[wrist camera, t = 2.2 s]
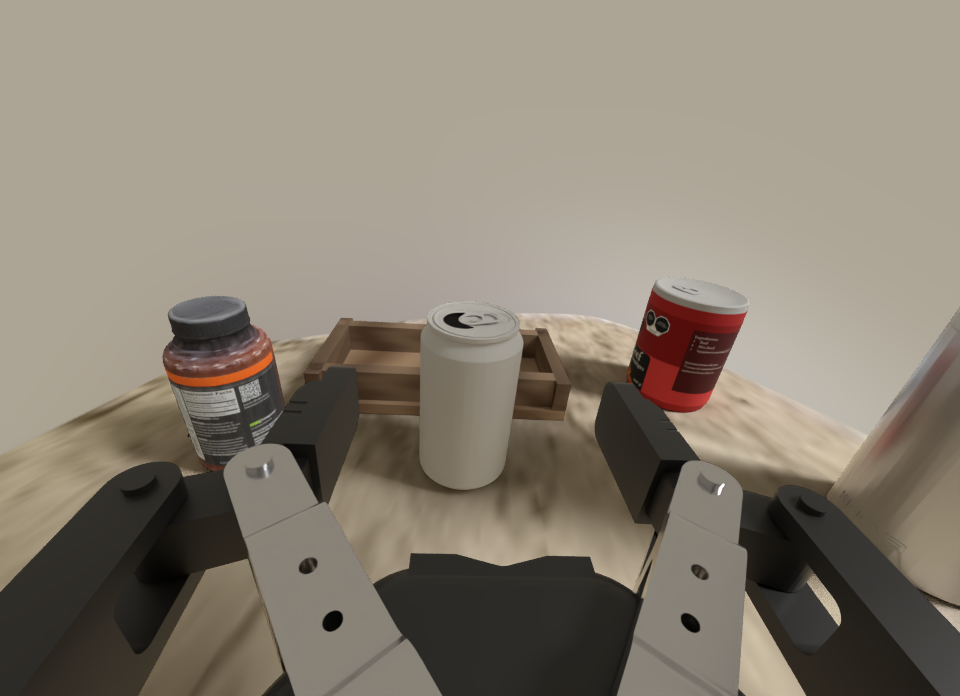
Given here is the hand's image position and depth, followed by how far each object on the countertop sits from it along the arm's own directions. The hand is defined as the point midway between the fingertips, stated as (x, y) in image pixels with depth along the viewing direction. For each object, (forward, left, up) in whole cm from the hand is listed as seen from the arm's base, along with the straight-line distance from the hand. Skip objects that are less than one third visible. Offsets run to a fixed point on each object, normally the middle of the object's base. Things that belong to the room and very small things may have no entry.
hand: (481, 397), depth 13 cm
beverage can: (0, -11, -14) cm, 18 cm away
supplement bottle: (+16, -12, -14) cm, 25 cm away
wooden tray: (+2, -22, -14) cm, 26 cm away
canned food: (-21, -22, -14) cm, 34 cm away
